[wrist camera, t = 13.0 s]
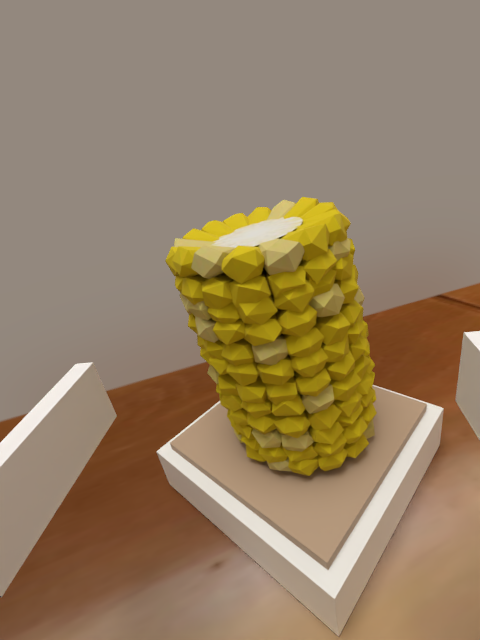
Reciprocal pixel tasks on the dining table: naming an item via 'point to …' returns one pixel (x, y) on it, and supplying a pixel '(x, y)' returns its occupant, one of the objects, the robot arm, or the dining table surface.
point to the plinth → (309, 500)
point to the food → (282, 331)
